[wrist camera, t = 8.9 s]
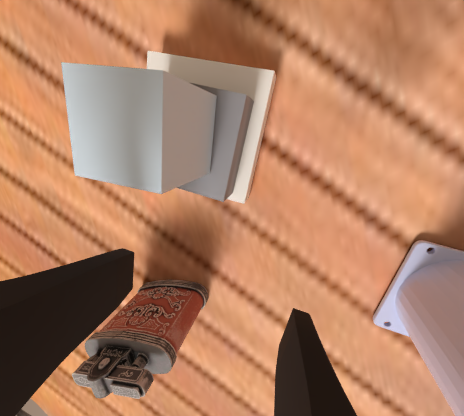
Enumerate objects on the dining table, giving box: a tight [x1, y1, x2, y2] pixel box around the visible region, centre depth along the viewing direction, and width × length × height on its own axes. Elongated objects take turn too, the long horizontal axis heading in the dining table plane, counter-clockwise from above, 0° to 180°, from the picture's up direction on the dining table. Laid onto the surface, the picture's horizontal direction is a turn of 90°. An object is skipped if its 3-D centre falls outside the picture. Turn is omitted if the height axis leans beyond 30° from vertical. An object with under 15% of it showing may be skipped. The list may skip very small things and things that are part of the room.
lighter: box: [72, 280, 208, 399], centre depth 19 cm, size 8×3×10 cm, turn 101°
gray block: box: [61, 62, 217, 194], centre depth 12 cm, size 4×4×6 cm
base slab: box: [147, 51, 276, 204], centre depth 17 cm, size 9×9×2 cm
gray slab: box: [177, 83, 254, 202], centre depth 15 cm, size 6×6×2 cm
